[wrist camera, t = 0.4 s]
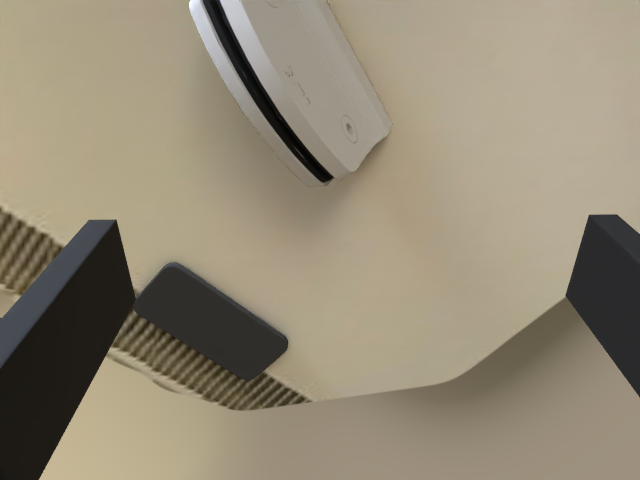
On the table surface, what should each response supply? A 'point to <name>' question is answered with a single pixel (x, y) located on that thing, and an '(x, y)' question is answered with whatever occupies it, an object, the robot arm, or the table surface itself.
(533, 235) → the table surface
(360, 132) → the white piece
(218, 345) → the phone
